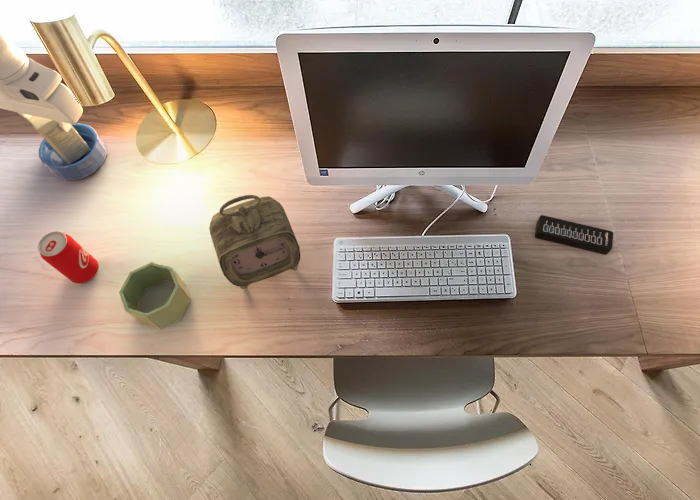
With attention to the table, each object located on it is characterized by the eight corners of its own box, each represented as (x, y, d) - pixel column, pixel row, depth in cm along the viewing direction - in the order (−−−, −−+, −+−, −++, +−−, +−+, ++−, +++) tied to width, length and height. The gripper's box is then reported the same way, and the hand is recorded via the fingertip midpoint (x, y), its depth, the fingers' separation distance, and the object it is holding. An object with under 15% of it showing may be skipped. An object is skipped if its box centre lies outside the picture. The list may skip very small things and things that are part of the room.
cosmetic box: (82, 140, 116) (53, 102, 106) (92, 150, 115) (63, 112, 104) (58, 156, 114) (26, 118, 104) (67, 166, 113) (36, 129, 102)
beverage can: (105, 261, 103) (75, 233, 92) (90, 288, 100) (57, 261, 90) (79, 255, 104) (46, 225, 93) (64, 281, 101) (28, 253, 91)
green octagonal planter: (127, 320, 97) (110, 306, 90) (151, 273, 101) (137, 258, 95) (175, 333, 95) (161, 321, 89) (197, 286, 99) (186, 270, 93)
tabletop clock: (237, 297, 98) (199, 234, 76) (226, 260, 102) (186, 190, 80) (306, 272, 100) (287, 203, 78) (291, 236, 104) (270, 162, 82)
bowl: (40, 175, 115) (27, 161, 110) (70, 132, 120) (59, 118, 116) (89, 186, 112) (78, 173, 108) (117, 143, 118) (108, 129, 114)
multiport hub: (537, 220, 104) (540, 214, 102) (608, 237, 101) (613, 231, 99) (534, 237, 102) (537, 231, 100) (607, 255, 99) (612, 249, 97)
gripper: (-44, 78, 95) (3, 128, 107) (47, 97, 91) (85, 146, 103) (-24, 56, 97) (20, 107, 110) (65, 73, 94) (100, 124, 106)
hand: (52, 126), depth 107 cm, fingers closed on cosmetic box, 6 cm apart
